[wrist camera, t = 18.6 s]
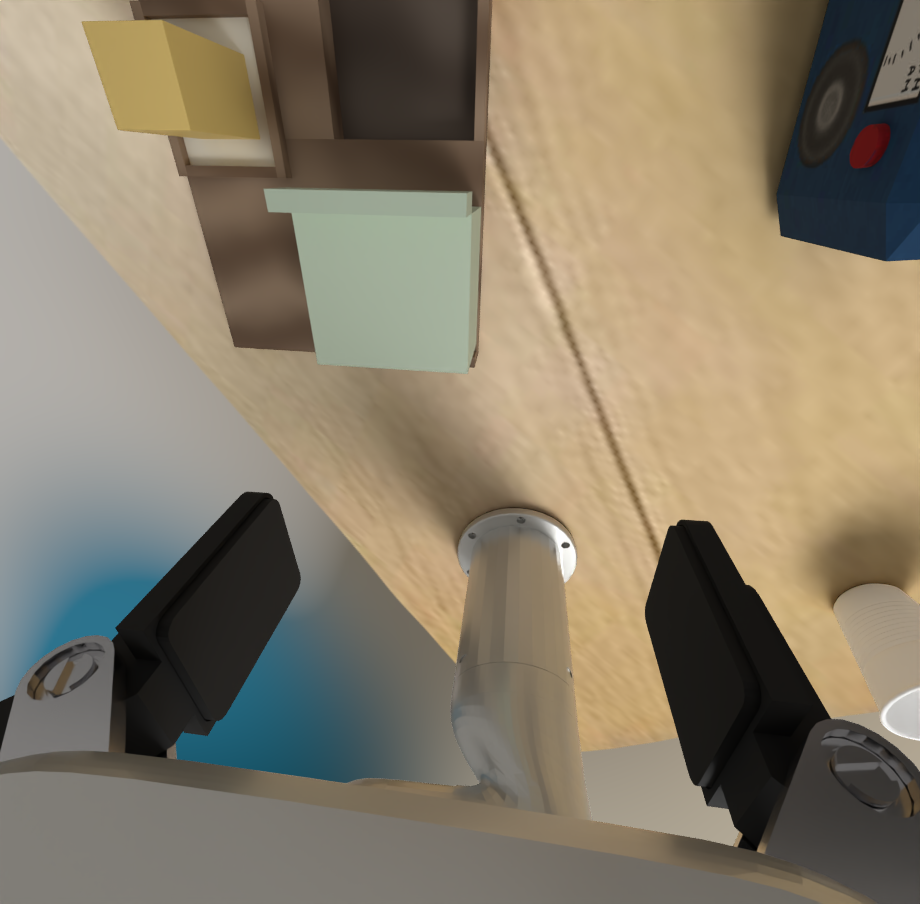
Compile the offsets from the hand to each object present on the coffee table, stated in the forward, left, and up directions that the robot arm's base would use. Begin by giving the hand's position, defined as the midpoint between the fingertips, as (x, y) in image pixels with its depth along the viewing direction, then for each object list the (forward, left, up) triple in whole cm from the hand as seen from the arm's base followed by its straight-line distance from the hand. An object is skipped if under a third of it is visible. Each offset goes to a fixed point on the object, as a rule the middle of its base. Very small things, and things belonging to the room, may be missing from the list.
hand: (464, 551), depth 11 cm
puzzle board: (+8, +12, -27) cm, 30 cm away
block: (+11, +18, -24) cm, 32 cm away
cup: (-29, -39, -27) cm, 55 cm away
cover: (+2, +7, -24) cm, 25 cm away
